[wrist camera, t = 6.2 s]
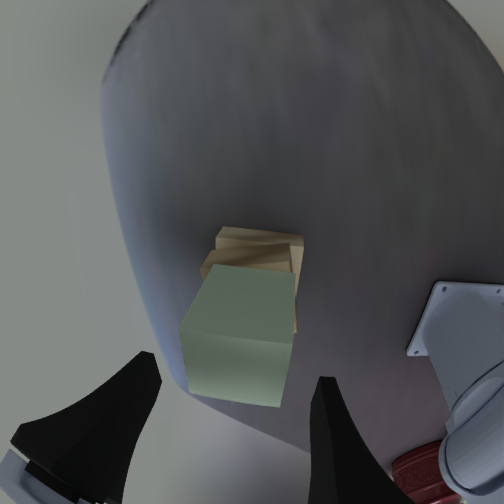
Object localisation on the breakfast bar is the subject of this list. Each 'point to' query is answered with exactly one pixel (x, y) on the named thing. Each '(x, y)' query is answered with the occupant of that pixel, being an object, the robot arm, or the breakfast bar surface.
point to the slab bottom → (262, 243)
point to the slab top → (253, 260)
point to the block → (240, 335)
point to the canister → (423, 477)
